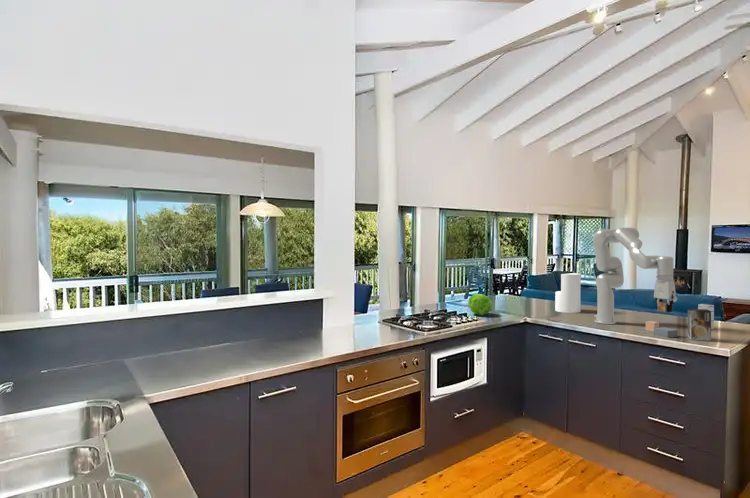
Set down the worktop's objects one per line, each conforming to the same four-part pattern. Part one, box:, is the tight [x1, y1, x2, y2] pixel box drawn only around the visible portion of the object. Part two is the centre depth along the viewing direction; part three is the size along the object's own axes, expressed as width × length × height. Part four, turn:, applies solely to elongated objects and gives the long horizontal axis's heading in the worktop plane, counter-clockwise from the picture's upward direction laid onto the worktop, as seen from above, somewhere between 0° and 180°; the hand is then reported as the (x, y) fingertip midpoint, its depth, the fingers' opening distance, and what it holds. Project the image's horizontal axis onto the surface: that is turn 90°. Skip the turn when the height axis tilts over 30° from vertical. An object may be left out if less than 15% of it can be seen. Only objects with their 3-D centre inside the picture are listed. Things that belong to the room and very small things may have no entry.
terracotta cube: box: [645, 320, 660, 332], centre depth 262 cm, size 5×5×5 cm
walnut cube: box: [656, 301, 674, 313], centre depth 247 cm, size 5×5×5 cm
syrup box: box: [697, 303, 715, 330], centre depth 266 cm, size 6×6×14 cm
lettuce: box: [467, 293, 493, 316], centre depth 317 cm, size 17×20×15 cm
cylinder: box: [554, 272, 582, 314], centre depth 331 cm, size 17×17×28 cm
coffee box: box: [687, 308, 712, 342], centre depth 238 cm, size 9×6×16 cm
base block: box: [653, 326, 679, 339], centre depth 248 cm, size 8×8×4 cm
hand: (665, 310), depth 247 cm, fingers closed on walnut cube, 5 cm apart
